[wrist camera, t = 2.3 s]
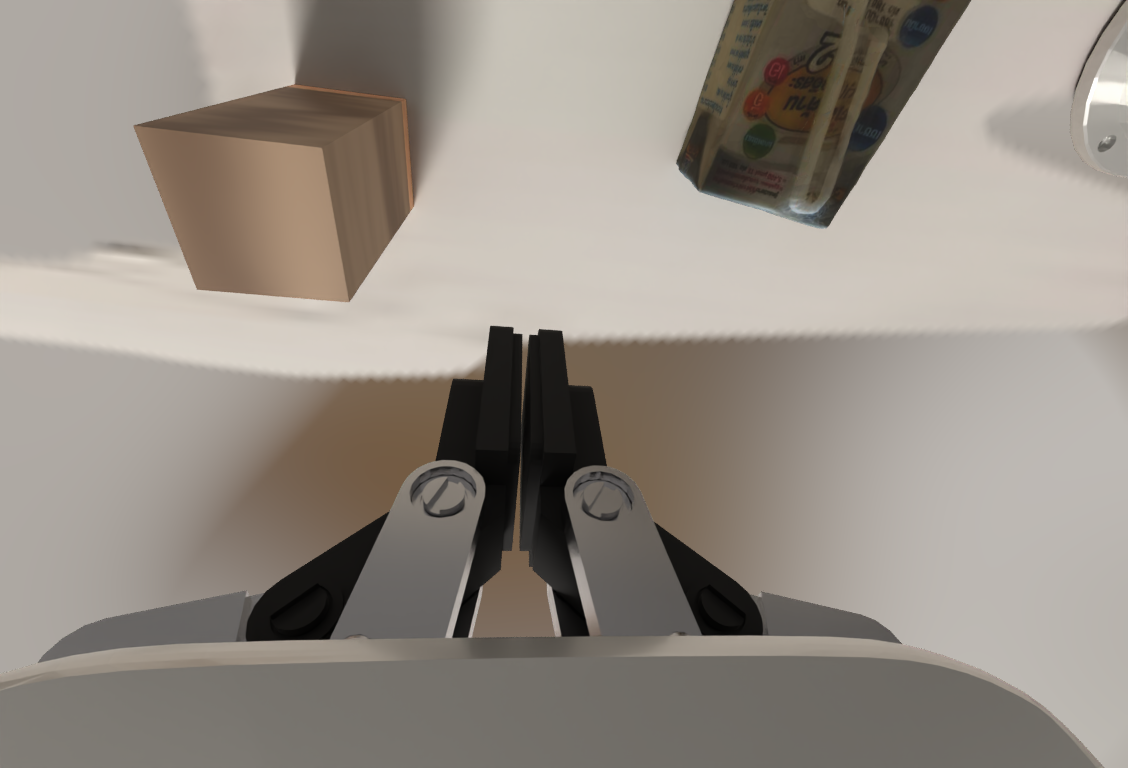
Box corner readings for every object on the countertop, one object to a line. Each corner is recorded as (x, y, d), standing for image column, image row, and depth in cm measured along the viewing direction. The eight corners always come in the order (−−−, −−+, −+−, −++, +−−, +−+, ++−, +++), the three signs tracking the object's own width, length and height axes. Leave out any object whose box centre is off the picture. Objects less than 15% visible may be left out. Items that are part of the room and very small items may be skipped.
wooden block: (405, 98, 24) (321, 147, 15) (413, 206, 28) (349, 302, 18) (294, 84, 24) (133, 125, 14) (316, 195, 27) (197, 289, 18)
